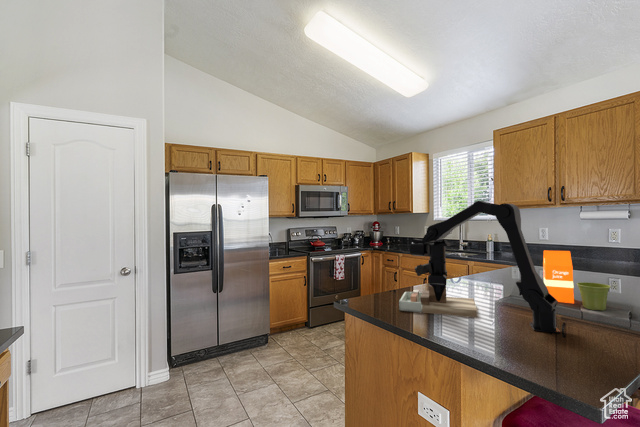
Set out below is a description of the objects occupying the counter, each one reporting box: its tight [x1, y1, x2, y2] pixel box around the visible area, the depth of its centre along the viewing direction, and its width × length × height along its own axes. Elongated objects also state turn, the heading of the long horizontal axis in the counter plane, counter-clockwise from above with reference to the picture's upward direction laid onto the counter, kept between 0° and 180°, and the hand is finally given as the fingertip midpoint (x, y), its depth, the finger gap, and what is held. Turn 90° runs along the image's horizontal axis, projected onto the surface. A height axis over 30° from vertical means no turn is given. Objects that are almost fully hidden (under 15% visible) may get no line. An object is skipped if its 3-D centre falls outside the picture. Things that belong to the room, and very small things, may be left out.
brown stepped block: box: [420, 284, 447, 305], centre depth 118 cm, size 13×9×6 cm
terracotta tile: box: [411, 294, 418, 302], centre depth 117 cm, size 4×4×2 cm
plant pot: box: [576, 282, 612, 312], centre depth 112 cm, size 9×9×9 cm
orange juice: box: [542, 250, 575, 304], centre depth 124 cm, size 8×9×20 cm
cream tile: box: [412, 289, 420, 302], centre depth 124 cm, size 4×4×2 cm
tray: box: [398, 291, 422, 313], centre depth 121 cm, size 16×8×4 cm, turn 157°
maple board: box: [421, 296, 478, 318], centre depth 116 cm, size 16×18×2 cm
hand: (438, 297), depth 117 cm, fingers open, 9 cm apart
